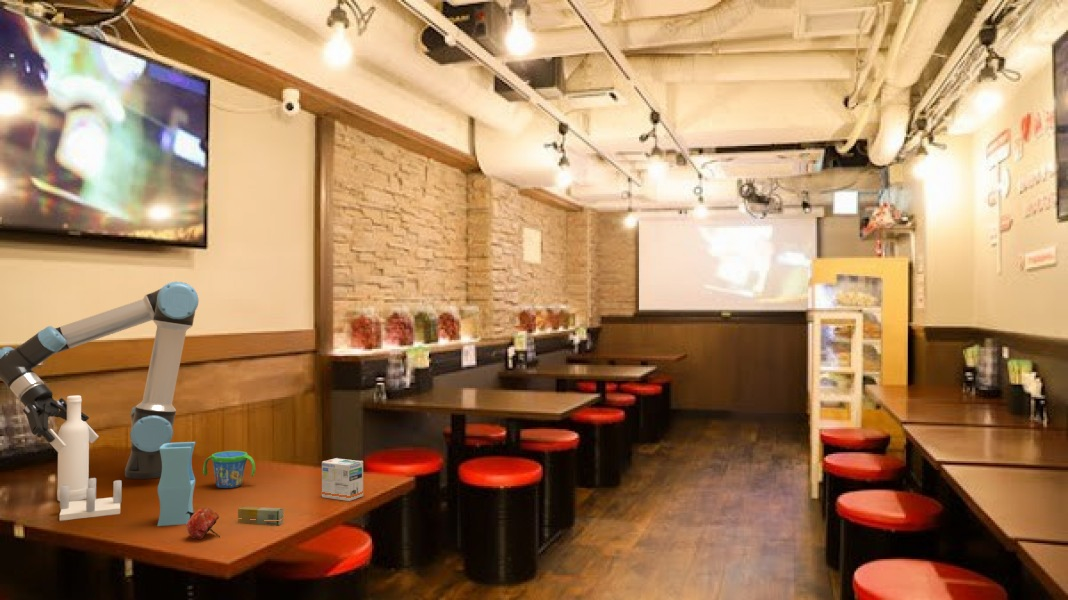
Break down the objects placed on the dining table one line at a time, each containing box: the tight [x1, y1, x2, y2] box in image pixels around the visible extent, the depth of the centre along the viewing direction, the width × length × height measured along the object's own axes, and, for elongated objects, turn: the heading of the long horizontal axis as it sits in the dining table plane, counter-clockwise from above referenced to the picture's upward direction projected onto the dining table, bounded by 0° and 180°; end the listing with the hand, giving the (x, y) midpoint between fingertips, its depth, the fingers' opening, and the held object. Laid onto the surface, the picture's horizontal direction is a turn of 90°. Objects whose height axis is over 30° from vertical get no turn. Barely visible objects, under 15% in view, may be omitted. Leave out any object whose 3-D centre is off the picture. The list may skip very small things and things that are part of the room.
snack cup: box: [202, 450, 256, 489], centre depth 235 cm, size 16×10×10 cm
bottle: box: [56, 394, 90, 502], centre depth 219 cm, size 8×8×30 cm
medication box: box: [237, 506, 284, 526], centre depth 197 cm, size 12×3×4 cm, turn 79°
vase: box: [157, 441, 196, 527], centre depth 198 cm, size 8×8×20 cm
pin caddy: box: [59, 477, 123, 522], centre depth 207 cm, size 15×15×8 cm
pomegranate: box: [185, 507, 221, 540], centre depth 185 cm, size 7×7×10 cm
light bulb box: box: [321, 457, 364, 502], centre depth 223 cm, size 11×7×11 cm, turn 65°
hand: (79, 444), depth 219 cm, fingers open, 13 cm apart
